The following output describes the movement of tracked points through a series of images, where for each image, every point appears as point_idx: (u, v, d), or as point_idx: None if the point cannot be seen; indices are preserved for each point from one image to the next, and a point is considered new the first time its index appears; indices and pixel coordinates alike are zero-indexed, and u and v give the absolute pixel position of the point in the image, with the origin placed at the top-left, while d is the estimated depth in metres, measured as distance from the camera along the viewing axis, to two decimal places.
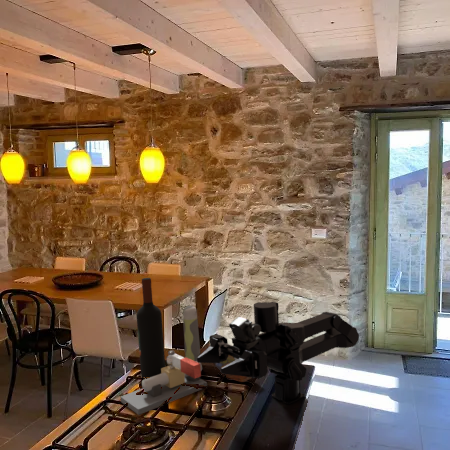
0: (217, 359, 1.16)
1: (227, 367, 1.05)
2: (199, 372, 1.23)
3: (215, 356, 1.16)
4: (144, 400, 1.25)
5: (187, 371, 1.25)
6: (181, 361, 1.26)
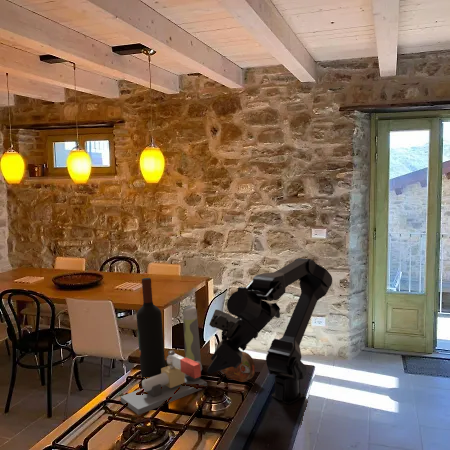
0: None
1: (209, 367, 1.13)
2: (199, 372, 1.23)
3: None
4: (144, 400, 1.25)
5: (187, 371, 1.25)
6: (181, 361, 1.26)
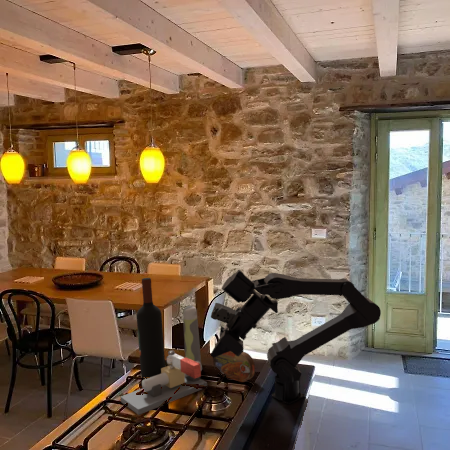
0: None
1: (213, 352, 1.24)
2: (199, 372, 1.23)
3: None
4: (144, 400, 1.25)
5: (187, 371, 1.25)
6: (181, 361, 1.26)
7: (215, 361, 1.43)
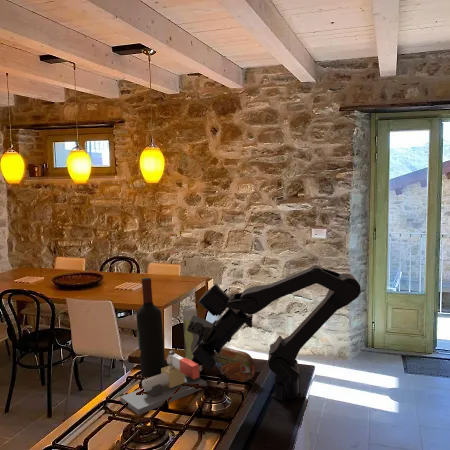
0: None
1: None
2: (197, 373, 1.23)
3: None
4: (144, 400, 1.25)
5: (186, 371, 1.24)
6: (180, 361, 1.26)
7: None
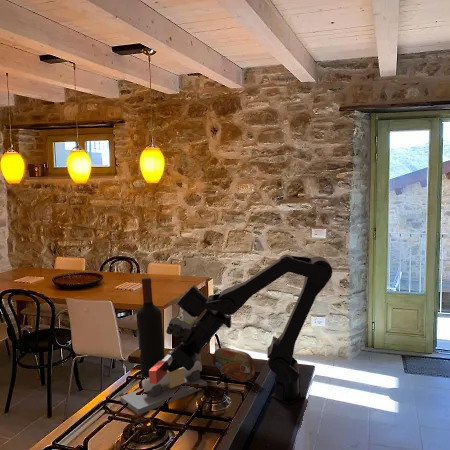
0: None
1: (169, 366, 1.26)
2: (154, 379, 1.20)
3: None
4: (144, 400, 1.25)
5: None
6: None
7: (215, 361, 1.43)
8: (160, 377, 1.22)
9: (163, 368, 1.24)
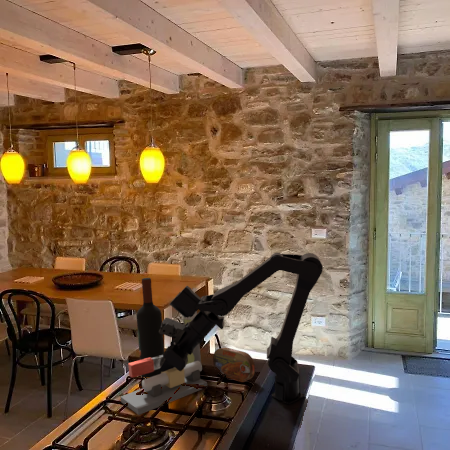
0: None
1: (162, 366, 1.27)
2: (131, 373, 1.25)
3: None
4: (144, 400, 1.25)
5: None
6: None
7: (215, 361, 1.43)
8: (140, 373, 1.26)
9: (147, 365, 1.27)
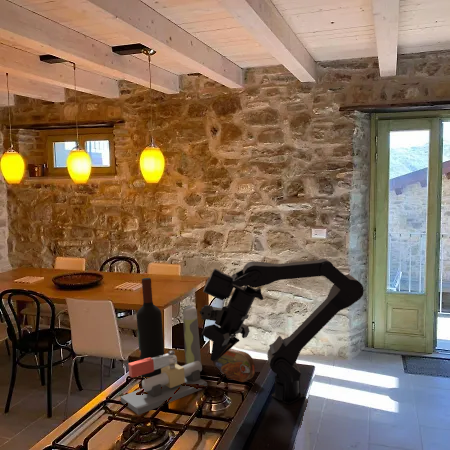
0: (231, 341, 1.24)
1: (211, 355, 1.23)
2: (131, 373, 1.25)
3: None
4: (144, 400, 1.25)
5: None
6: None
7: (215, 361, 1.43)
8: (140, 373, 1.26)
9: (147, 365, 1.27)
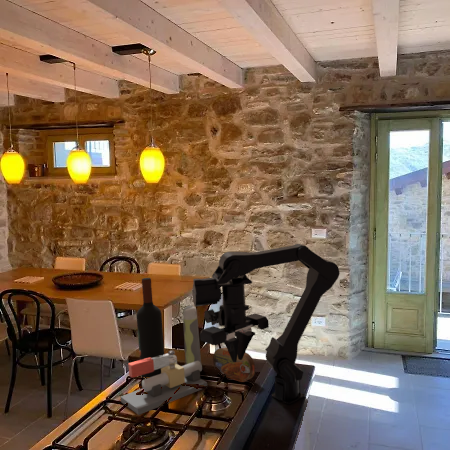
0: (244, 337, 1.20)
1: None
2: (131, 373, 1.25)
3: (242, 338, 1.21)
4: (144, 400, 1.25)
5: None
6: None
7: (215, 361, 1.43)
8: (140, 373, 1.26)
9: (147, 365, 1.27)
